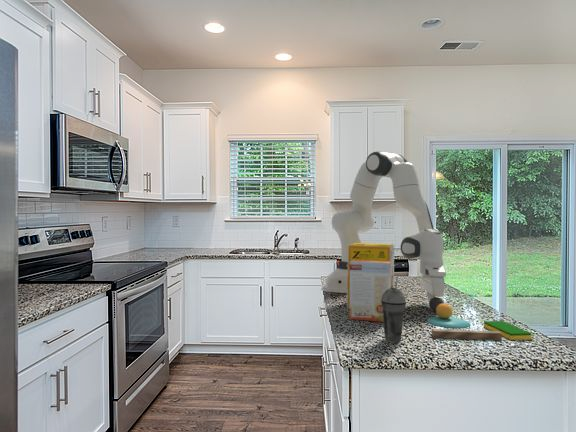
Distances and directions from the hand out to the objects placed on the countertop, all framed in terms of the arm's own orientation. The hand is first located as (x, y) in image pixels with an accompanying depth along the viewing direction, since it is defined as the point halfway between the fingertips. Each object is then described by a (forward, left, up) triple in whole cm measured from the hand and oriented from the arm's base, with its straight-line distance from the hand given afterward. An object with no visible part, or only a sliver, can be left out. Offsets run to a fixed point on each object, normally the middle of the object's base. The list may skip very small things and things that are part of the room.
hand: (431, 303), depth 161 cm
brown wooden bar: (0, -39, -2) cm, 39 cm away
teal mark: (0, -22, -2) cm, 22 cm away
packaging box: (-24, 0, -2) cm, 24 cm away
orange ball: (0, -17, +1) cm, 17 cm away
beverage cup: (-23, -44, -2) cm, 50 cm away
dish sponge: (+15, -32, -2) cm, 35 cm away
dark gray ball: (0, -6, +1) cm, 7 cm away
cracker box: (-27, -21, -2) cm, 34 cm away
